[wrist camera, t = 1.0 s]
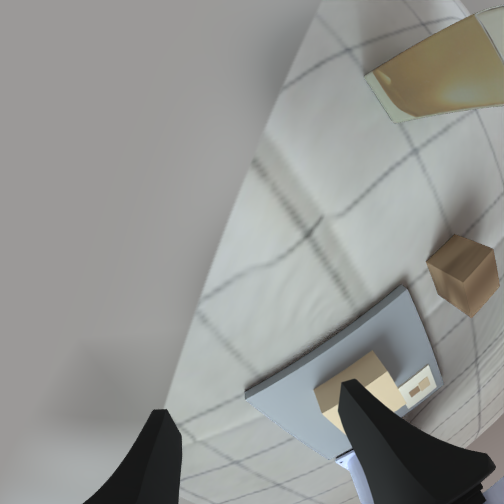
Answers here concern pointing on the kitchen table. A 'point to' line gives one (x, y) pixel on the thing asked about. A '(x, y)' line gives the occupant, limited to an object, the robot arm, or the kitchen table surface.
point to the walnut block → (464, 273)
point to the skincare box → (446, 70)
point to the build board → (335, 357)
